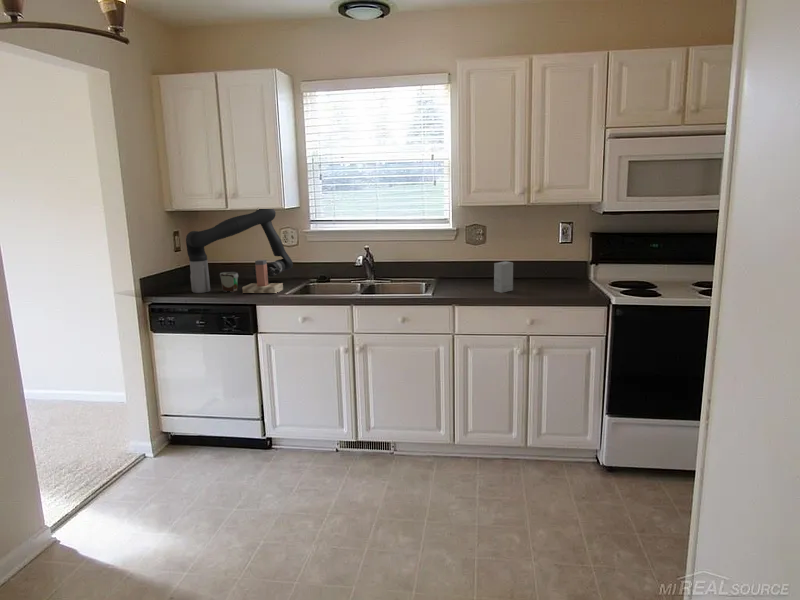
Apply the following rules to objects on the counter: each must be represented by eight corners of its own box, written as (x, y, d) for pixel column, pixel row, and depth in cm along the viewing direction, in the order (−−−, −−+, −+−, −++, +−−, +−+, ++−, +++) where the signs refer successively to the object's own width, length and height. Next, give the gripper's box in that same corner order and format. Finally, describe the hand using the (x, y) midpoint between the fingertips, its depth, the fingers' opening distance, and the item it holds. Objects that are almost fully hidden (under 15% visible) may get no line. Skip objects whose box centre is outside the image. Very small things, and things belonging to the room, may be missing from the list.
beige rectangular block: (242, 293, 300) (242, 287, 299) (252, 289, 311) (251, 283, 311) (274, 293, 297) (274, 287, 296) (283, 289, 309) (282, 283, 308)
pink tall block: (257, 292, 302) (255, 261, 299) (261, 290, 307) (258, 260, 303) (265, 292, 302) (263, 261, 298) (268, 290, 306) (266, 259, 303)
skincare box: (505, 289, 291) (505, 260, 288) (513, 290, 286) (514, 262, 283) (493, 291, 287) (493, 262, 284) (501, 293, 282) (501, 263, 279)
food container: (244, 290, 309) (243, 272, 307) (235, 292, 304) (234, 274, 302) (229, 288, 316) (228, 271, 313) (221, 290, 311) (219, 272, 309)
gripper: (261, 262, 319) (249, 266, 303) (285, 262, 317) (274, 266, 301) (262, 275, 321) (250, 280, 305) (285, 275, 318) (275, 280, 303)
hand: (262, 273), depth 303 cm, fingers open, 8 cm apart
